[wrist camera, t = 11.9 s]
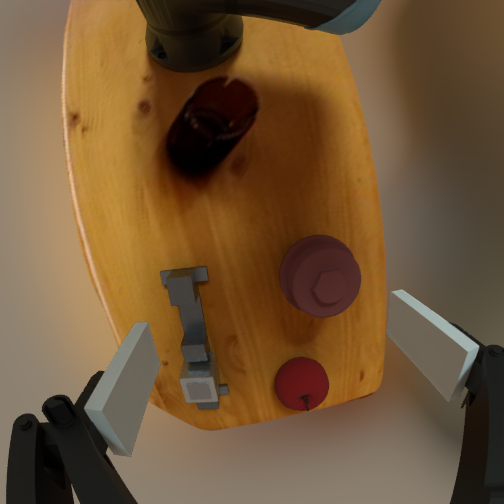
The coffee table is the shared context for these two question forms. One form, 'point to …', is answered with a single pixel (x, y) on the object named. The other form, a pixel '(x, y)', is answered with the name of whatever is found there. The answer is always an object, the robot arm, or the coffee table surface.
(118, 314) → the coffee table surface
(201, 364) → the block
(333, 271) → the mechanical component
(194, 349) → the rail
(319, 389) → the apple
